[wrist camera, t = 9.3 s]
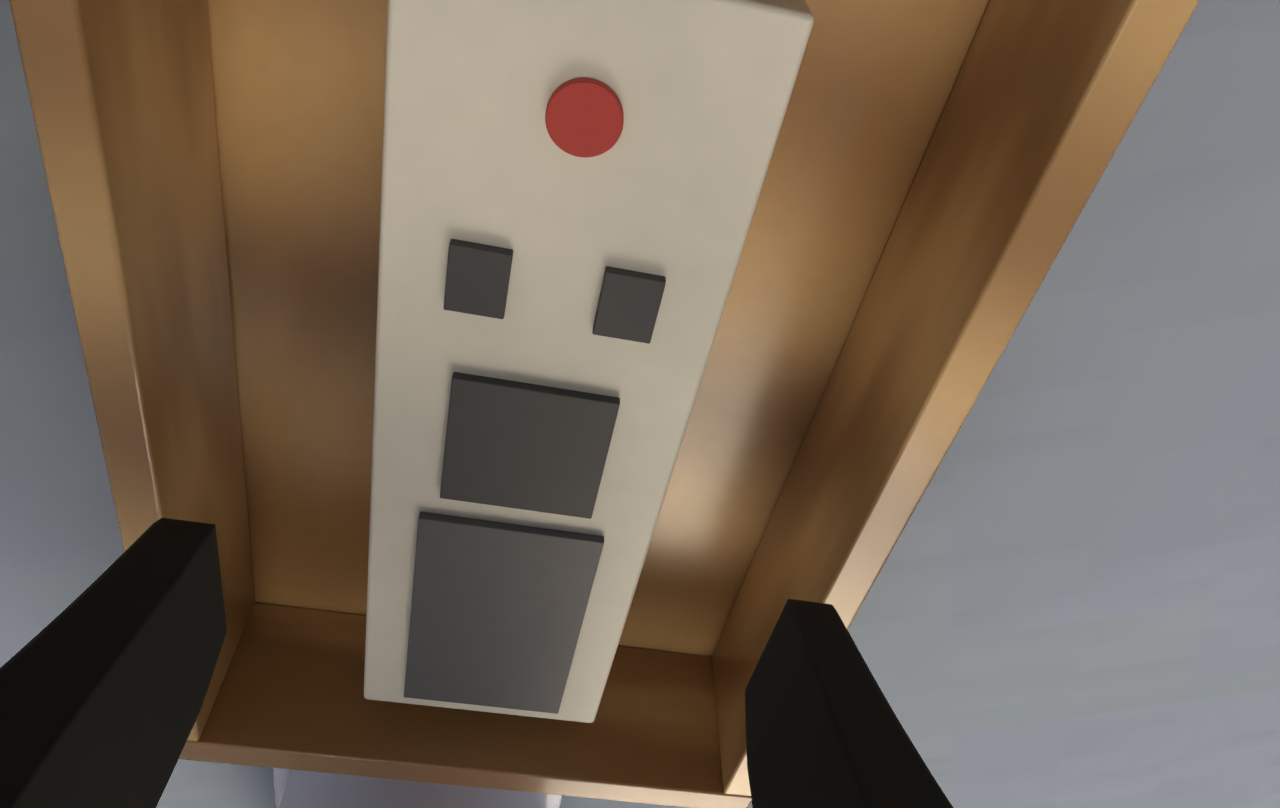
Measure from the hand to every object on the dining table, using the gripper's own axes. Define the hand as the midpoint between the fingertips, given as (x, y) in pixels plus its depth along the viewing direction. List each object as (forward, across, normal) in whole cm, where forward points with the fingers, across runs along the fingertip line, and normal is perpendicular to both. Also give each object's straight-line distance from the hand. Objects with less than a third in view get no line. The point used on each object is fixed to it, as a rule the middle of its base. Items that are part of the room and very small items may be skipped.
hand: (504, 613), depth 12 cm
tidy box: (+6, 0, 0) cm, 6 cm away
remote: (+6, 0, 0) cm, 6 cm away
